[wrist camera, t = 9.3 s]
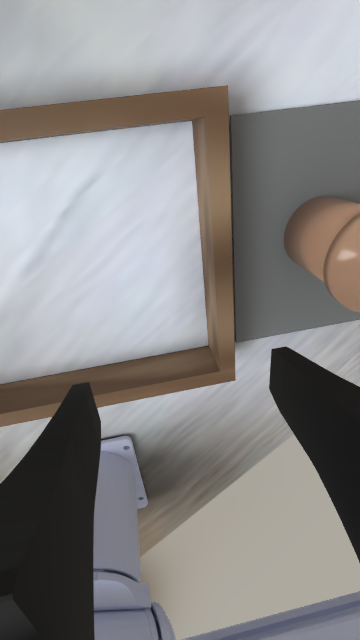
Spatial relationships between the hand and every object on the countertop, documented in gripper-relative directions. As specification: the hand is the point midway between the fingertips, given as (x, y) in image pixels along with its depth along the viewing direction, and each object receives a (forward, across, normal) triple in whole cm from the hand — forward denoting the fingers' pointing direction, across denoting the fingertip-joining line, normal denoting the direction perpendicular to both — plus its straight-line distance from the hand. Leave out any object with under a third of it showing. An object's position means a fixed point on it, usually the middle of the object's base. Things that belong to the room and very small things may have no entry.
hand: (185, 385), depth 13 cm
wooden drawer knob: (+9, -10, -2) cm, 14 cm away
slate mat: (+9, -11, -2) cm, 15 cm away
